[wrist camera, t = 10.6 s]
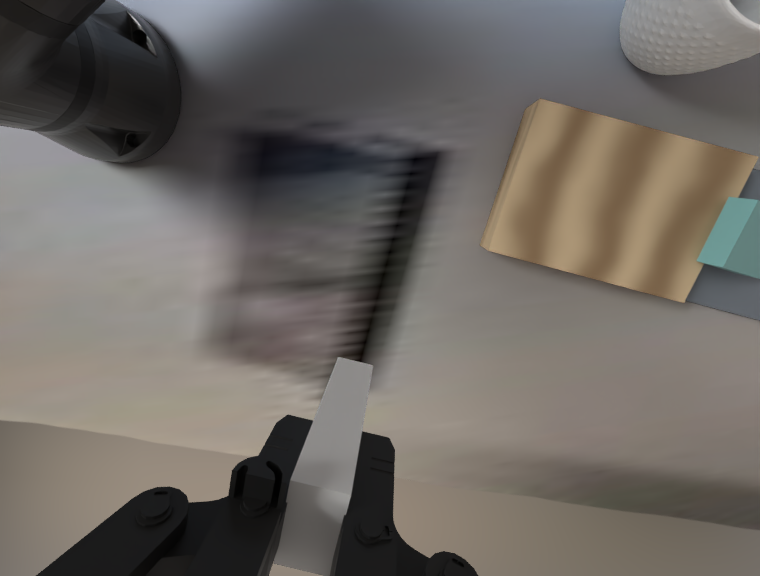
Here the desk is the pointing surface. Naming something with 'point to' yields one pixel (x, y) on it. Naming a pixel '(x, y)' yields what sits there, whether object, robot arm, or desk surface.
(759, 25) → the mug
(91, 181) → the desk surface
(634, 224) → the board
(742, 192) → the mat
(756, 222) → the teal rectangular block
